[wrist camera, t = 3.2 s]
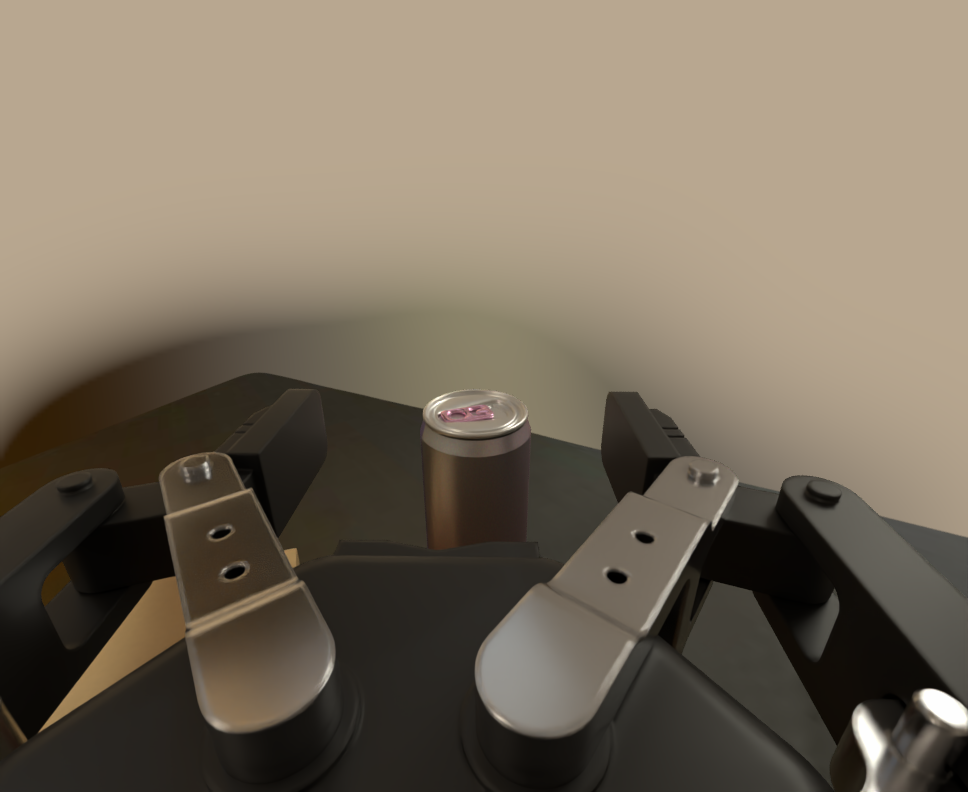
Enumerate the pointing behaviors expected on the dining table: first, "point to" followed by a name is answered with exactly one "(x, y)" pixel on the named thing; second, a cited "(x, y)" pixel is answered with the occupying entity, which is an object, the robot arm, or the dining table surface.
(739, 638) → the dining table surface
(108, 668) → the birch block
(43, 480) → the dining table surface
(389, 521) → the dining table surface
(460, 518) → the beverage can
